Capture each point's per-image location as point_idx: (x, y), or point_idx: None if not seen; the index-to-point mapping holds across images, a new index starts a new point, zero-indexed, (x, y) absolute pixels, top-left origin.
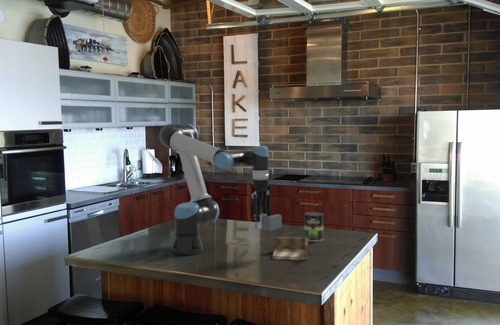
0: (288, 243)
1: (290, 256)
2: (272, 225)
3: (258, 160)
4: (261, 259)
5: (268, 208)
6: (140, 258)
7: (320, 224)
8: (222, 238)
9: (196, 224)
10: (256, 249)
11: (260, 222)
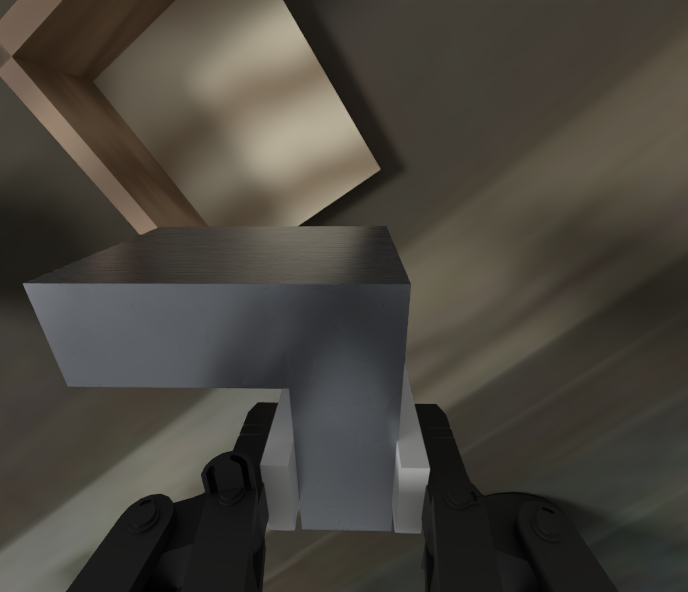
0: (159, 195)
1: (311, 50)
2: (340, 240)
3: None
4: (424, 220)
5: (145, 572)
6: (670, 580)
7: None
8: None
9: None
10: None
11: (409, 391)
